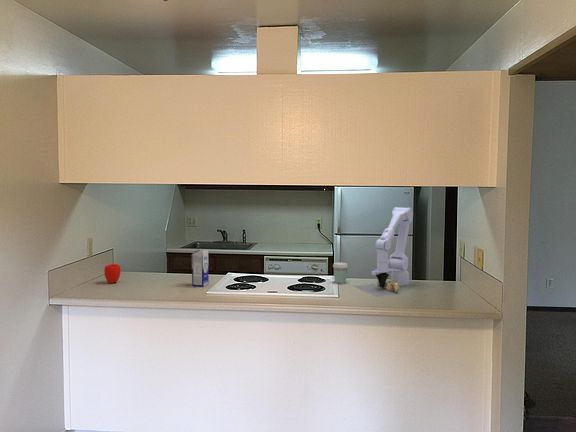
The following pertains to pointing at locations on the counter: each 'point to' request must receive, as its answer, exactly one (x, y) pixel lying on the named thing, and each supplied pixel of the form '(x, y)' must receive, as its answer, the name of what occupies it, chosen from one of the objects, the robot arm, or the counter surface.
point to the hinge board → (377, 290)
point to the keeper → (394, 286)
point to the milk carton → (200, 268)
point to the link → (387, 286)
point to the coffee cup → (340, 272)
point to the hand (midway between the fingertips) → (382, 287)
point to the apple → (112, 273)
